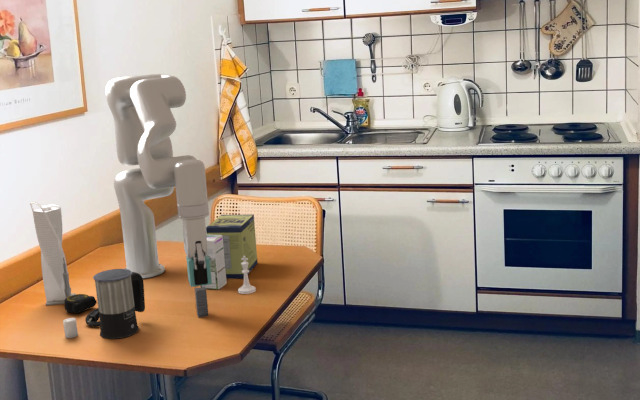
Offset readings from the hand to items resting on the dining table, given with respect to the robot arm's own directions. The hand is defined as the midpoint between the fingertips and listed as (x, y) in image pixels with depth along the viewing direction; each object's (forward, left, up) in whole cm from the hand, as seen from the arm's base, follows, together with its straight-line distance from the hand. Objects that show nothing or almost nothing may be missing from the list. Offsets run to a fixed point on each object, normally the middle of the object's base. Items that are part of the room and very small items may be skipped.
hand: (199, 280), depth 204 cm
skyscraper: (-29, -36, -10) cm, 47 cm away
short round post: (+1, -32, -9) cm, 33 cm away
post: (0, 0, -9) cm, 9 cm away
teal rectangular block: (0, 0, -1) cm, 1 cm away
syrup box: (-22, +6, -10) cm, 25 cm away
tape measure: (-17, -30, -10) cm, 36 cm away
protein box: (-34, +14, -10) cm, 38 cm away
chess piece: (-14, +14, -10) cm, 22 cm away
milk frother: (0, -23, -10) cm, 25 cm away
